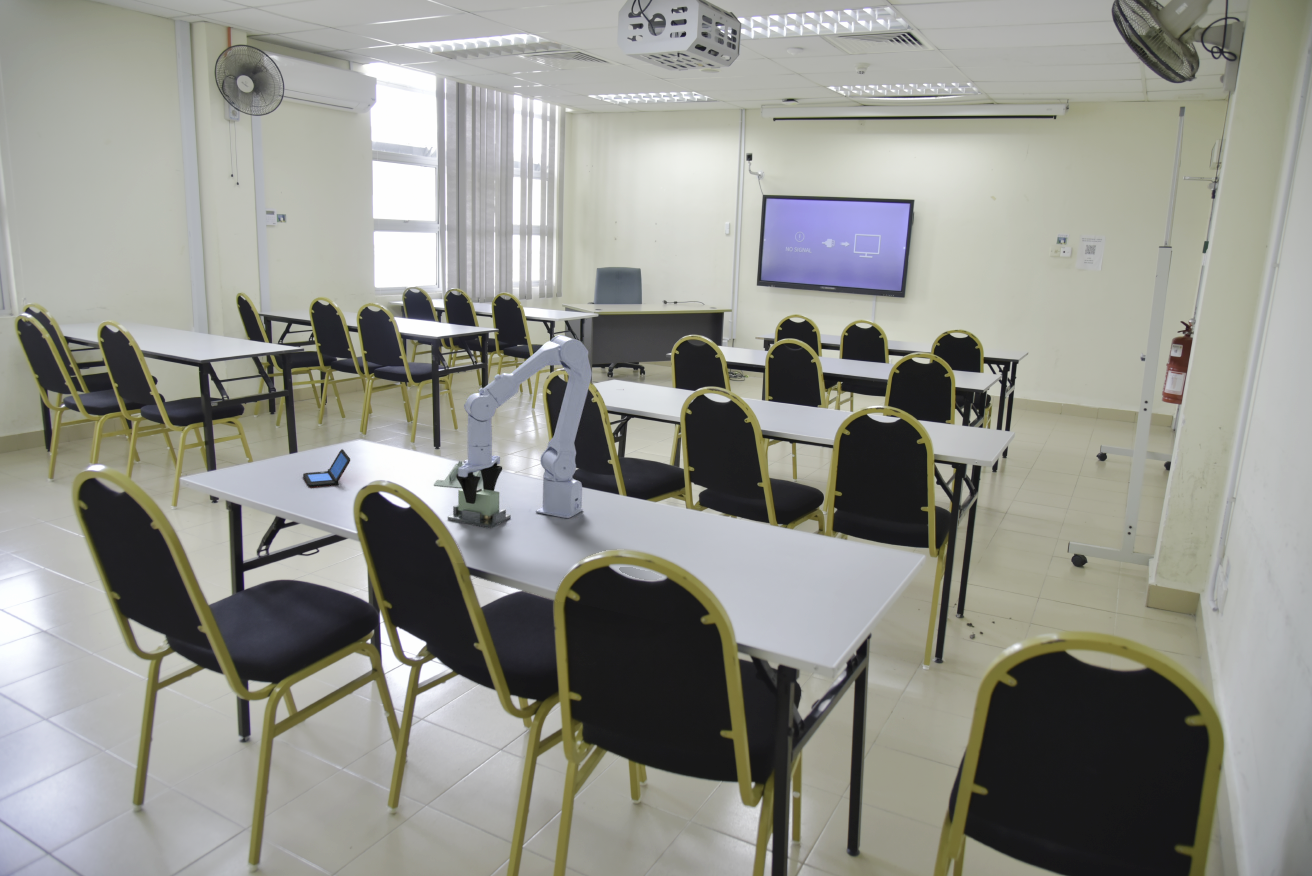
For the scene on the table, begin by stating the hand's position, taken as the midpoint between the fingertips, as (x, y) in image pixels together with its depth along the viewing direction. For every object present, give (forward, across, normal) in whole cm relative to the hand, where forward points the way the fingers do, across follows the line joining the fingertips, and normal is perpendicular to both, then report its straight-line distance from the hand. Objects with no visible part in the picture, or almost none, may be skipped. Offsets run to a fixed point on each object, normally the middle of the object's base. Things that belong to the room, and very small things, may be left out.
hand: (479, 498), depth 207 cm
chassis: (+5, 0, 0) cm, 5 cm away
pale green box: (+3, 0, 0) cm, 3 cm away
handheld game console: (+6, -6, -54) cm, 54 cm away
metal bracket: (+6, -25, -21) cm, 33 cm away
